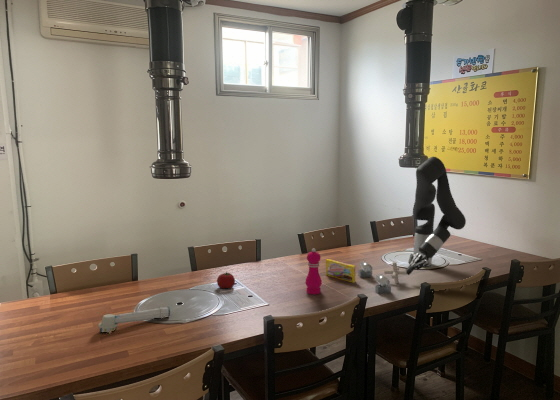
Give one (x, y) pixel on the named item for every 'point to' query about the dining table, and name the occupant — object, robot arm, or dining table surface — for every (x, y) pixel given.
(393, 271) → the pipe connector
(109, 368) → the dining table surface
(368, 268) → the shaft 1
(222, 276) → the tomato
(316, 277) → the pepper mill
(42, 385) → the dining table surface
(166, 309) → the toothbrush head
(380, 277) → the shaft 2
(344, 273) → the candy box
